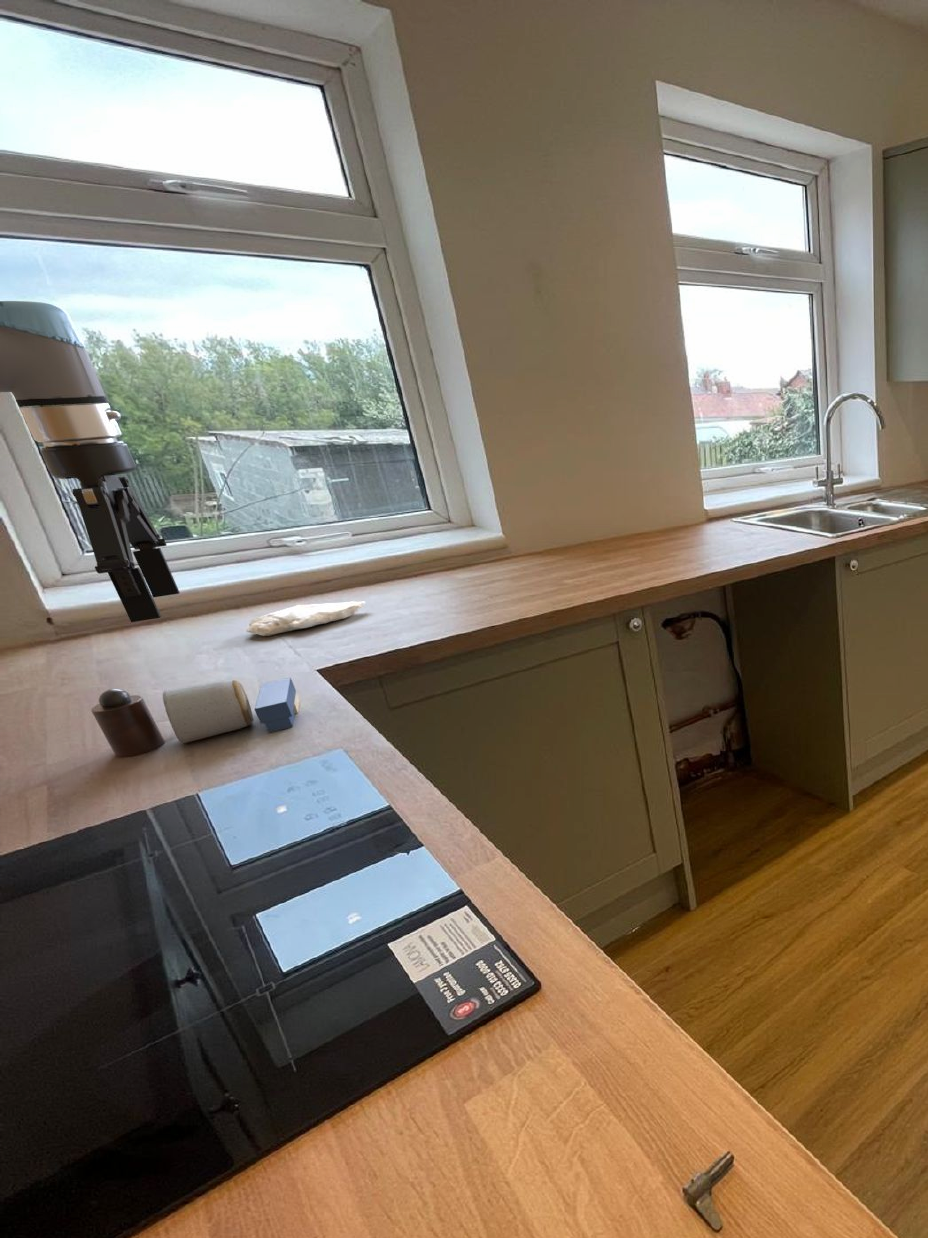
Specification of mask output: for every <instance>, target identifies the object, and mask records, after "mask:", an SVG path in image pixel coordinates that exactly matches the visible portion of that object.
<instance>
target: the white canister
mask: <svg viewBox="0 0 928 1238" xmlns="http://www.w3.org/2000/svg"><path fill="white" fill-rule="evenodd" d="M162 701H163V706H164V709H165V712H166V715H167V718H168V721H169V723H170V726H171V728H172V730H173V732H174V734H175V736H176V738H177V740H178V741H179V742H180V743H181V744H188V743H191V742H196V741H198V740H203V739H207V738H211V737H214V736H217V735H221V734H225V733H230V732H232V731H238V730H241V729H243V728H246V727H248V726H250V725H251V724H252V723H253V722H254V715H253V711H252V707H251V704H250V701H249V698H248V695H247V694H246V691H245V688H244V685H242V683H241V682H240V681H238V680H235V679H230V680H218V681H212V682H207V683H202V684H195V685H190V686H189V685H188V686H183V687H182V686H181V687H176V688H171V689H166V690H164V691H163V693H162Z"/></svg>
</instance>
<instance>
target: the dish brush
mask: <svg viewBox="0 0 928 1238" xmlns="http://www.w3.org/2000/svg"><path fill="white" fill-rule="evenodd" d="M300 702H301V700H300V697H299V694H298V692H297V689H296V688H295V685H294V681H293V680H292V677H285V678H281V679H277V680H272V681H267V682H263V683H261V684H260V688H259V691H258V694H257V699H256V702H255V706H254V711H255V714H256V717H257V718H258V720H259V723H260V725H263V724H264V725H265V727H266V730H267V732H268V733H270V734H271V733H274V732H278V731H283V730H286V729H291V728H293V727H294V722H295V715H296V714H299V708H300Z"/></svg>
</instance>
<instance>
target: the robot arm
mask: <svg viewBox="0 0 928 1238" xmlns="http://www.w3.org/2000/svg"><path fill="white" fill-rule="evenodd" d="M0 393H11V395H12V396H13V397H14V398H15V399H16V400H15V401H16V404H17V406H18V407H19V410H20V413H21V415H22V417H23V419H24V421H25V424H26V426H27V427H28V430H29V432H30V434H31V436H32V438H33V441H34V442H38V443H42V444H43V447H41V450H39V452H40V453H41V456H42V458H43V460H44V463H45V464H46V466H47V469H48V471H49V473H50V475H51V476H52V477H54V478H55V479H60V480H70V479H76V480H78V482H79V484H80V487H79V488H72V495H73V497H74V498H75V500H76V503H77V505H78V508H79V510H80V514H81V517H82V520H83V523H84V526H85V529H86V533H87V536H88V539H89V543H90V545H91V548H92V552H93V555H94V559H95V562H96V566H94V569H95V571H96V573H97V574H108V576H109V579H110V581H111V583H112V585H113V587H114V589H115V591H116V593H117V595H118V597H119V600H120V602H121V604H122V606H123V608H124V610H125V612H126V614H127V617H128V619H129V621H130V623H138V622H143V621H149V620H155V619H160V618H161V617H162V614H161V613H160V610H159V608H158V606H157V604H156V601H155V599H154V598H159V597H167V596H172V595H173V596H174V595H179V594H180V593H181V592H180V590H179V587H178V585H177V583H176V580H175V578H174V576H173V574H172V572H171V569H170V567H169V564H168V563H167V560H166V558H165V556H164V552H163V551H162V549H161V548H162V547H167V541H166V539H165V538H161V536H160V534H159V533H158V531H157V529H156V528H155V526H154V525H153V523H152V521H151V520H150V518H149V515H147V514H148V513H146V511H145V509H144V507H143V506H142V504H141V503H140V500H139V499H138V497H137V495H136V493H135V492H134V489H133V488H132V486H131V483H130V480H129V479H128V477H127V476H126V475H124V474H129V473H133V472H135V471H136V470H137V468H138V467H137V465H136V463H135V460H134V458H133V455H132V453H131V451H130V449H129V446H128V444H127V443H125V442H124V441H118V438H120V437H121V436H122V432H121V430H120V429H121V428H120V427H119V424H118V423H117V421H116V420H121V418H122V415H121V414H120V412H118V411H117V410H116V411H115V410H113V411H112V410H111V407H110V405H109V401H108V399H107V397H106V394H105V391H104V389H103V387H102V384H101V381H100V379H99V377H98V374H97V372H96V370H95V367H94V365H93V362H92V359H91V357H90V356H89V352H88V351H87V347H86V346H85V344H84V342H83V340H82V338H81V336H80V334H79V332H78V330H77V328H76V326H75V324H74V322H73V320H72V318H71V316H70V314H69V313H68V312H67V311H66V310H65V309H64V308H62V307H61V306H59V305H57V304H53V303H50V302H44V301H43V302H42V301H29V300H28V301H27V300H26V301H25V300H0ZM119 475H120V476H119ZM121 475H123V476H121ZM131 547H132V548H133V549H134V551H132V549H131ZM133 557H134V558H135V561H136V563H137V565H138V566H137V567H136V563H135V562H134V558H133Z"/></svg>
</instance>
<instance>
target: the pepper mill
mask: <svg viewBox="0 0 928 1238" xmlns="http://www.w3.org/2000/svg"><path fill="white" fill-rule="evenodd" d="M90 711H91V713H92V715H93V717H94V719H95V720H96V722H97V724H98V726H99V728H100V729H101V731H102V733H103V735H104V737H105V739H106V741H107V742H108V744H109V746H110V748H111V750H112V752H113V753H114V755H115V757H118V758H128V757H129V758H130V757H133V756H139V755H142V754H146V753H148V752H151V751H154V750H155V749H157V748H159V747H161V746H162V745H164V744H165V739H164V737H163V735H162V733H161V731H160V729H159V727H158V725H157V723H156V721H155V719H154V716H153V715H152V714H151V712H150V710H149V708H148V706H147V704H146V701H145V699H144V698H143V696H142V695H140V694H139V695H133V694H132V695H131V694H130V693H129V692H128V691H126V690H124V689H121V688H110V689H108V690H105V691H104V692H102V693H101V694H99V697H98V704H96V705H95V706H93V707H92V708H91V709H90Z"/></svg>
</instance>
